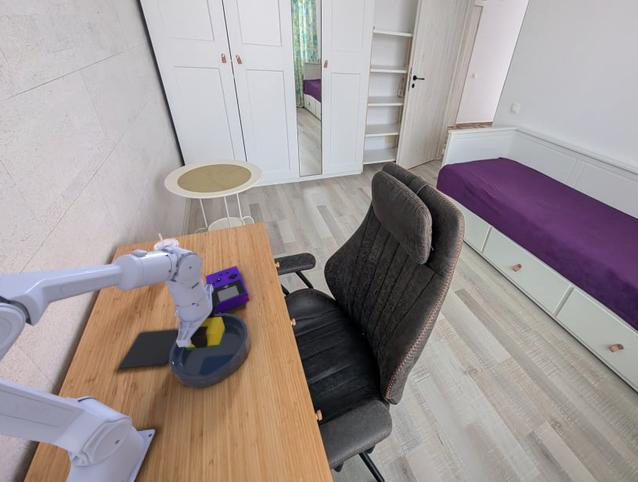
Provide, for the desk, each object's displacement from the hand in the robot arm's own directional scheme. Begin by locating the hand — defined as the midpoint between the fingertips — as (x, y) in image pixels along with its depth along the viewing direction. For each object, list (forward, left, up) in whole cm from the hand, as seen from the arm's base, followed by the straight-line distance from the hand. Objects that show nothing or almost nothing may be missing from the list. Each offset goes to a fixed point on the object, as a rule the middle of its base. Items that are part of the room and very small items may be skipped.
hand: (206, 336), depth 66 cm
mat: (+3, +15, -7) cm, 17 cm away
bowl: (0, 0, -7) cm, 7 cm away
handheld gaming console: (+19, +2, -7) cm, 21 cm away
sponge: (0, 0, -1) cm, 1 cm away
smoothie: (+32, +22, -7) cm, 39 cm away
